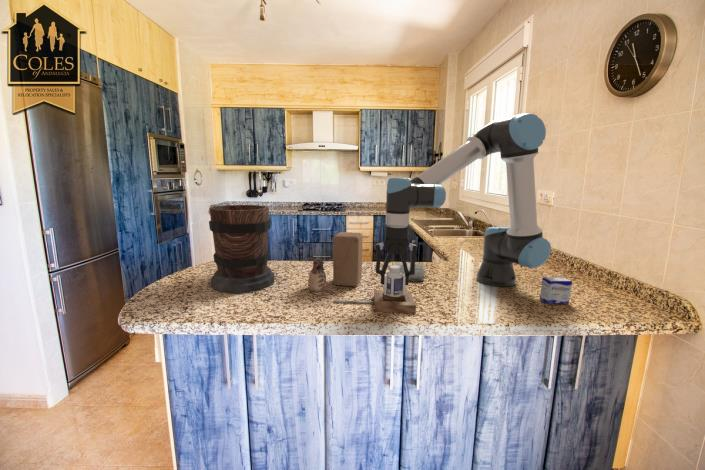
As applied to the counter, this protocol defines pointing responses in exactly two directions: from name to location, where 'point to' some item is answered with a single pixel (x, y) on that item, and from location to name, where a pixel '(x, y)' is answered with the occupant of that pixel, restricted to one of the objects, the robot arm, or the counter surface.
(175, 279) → the counter surface
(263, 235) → the wooden barrel
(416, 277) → the decorative stone
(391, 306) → the brown square frame
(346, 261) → the wooden block
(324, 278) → the figurine
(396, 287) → the pill bottle
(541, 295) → the box
